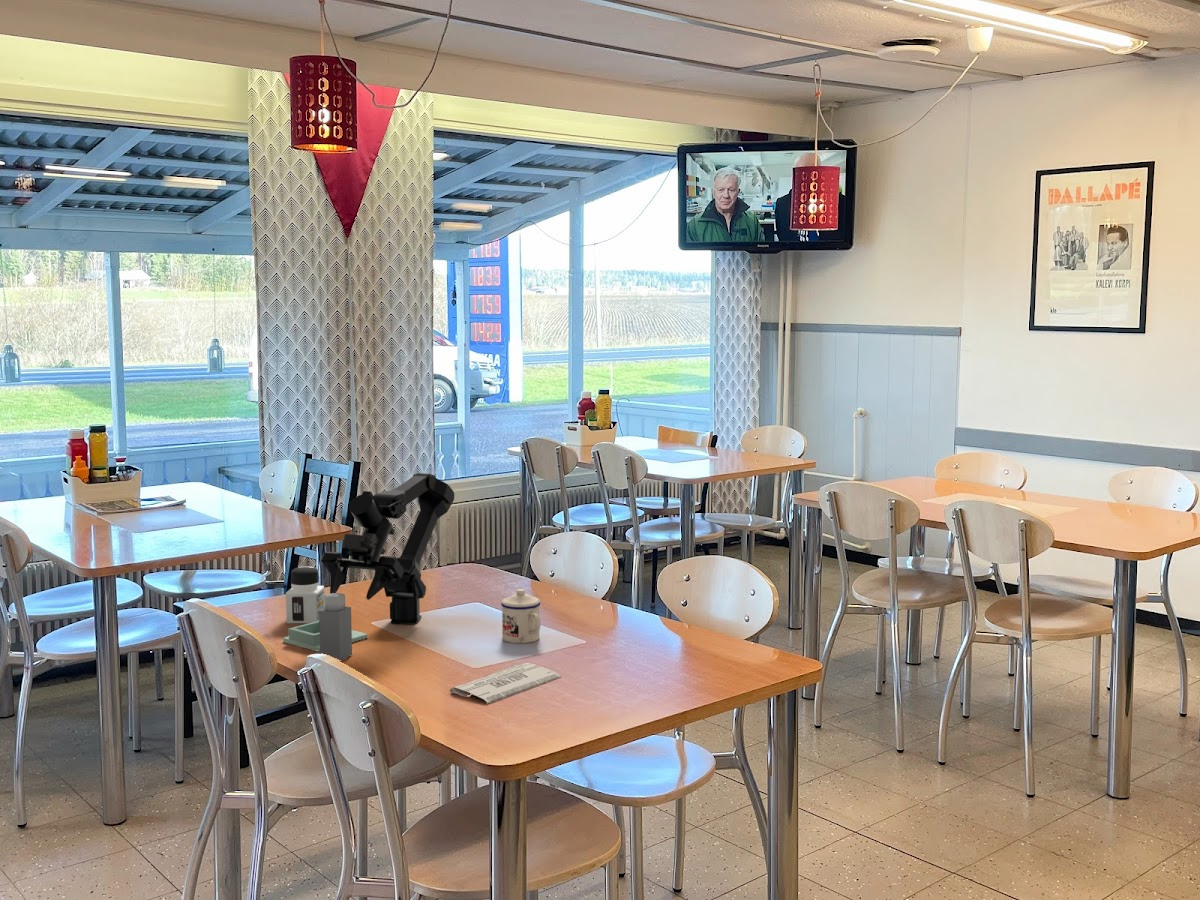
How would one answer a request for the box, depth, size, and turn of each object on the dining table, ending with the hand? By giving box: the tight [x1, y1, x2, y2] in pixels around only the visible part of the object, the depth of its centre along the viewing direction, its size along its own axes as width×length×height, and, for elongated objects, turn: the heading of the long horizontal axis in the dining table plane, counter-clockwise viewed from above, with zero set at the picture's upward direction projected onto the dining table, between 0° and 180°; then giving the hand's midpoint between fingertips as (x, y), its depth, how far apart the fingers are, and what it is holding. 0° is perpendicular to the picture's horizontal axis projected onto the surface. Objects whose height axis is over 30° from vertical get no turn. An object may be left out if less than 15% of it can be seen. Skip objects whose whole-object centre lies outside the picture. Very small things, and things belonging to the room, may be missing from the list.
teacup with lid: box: [500, 588, 542, 644], centre depth 269 cm, size 12×9×12 cm
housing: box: [282, 621, 369, 653], centre depth 269 cm, size 14×13×4 cm
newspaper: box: [449, 662, 562, 705], centre depth 238 cm, size 23×12×2 cm, turn 141°
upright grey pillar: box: [319, 592, 353, 662], centre depth 255 cm, size 5×5×14 cm
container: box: [285, 566, 326, 624], centre depth 286 cm, size 8×8×13 cm
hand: (349, 597), depth 260 cm, fingers open, 9 cm apart
